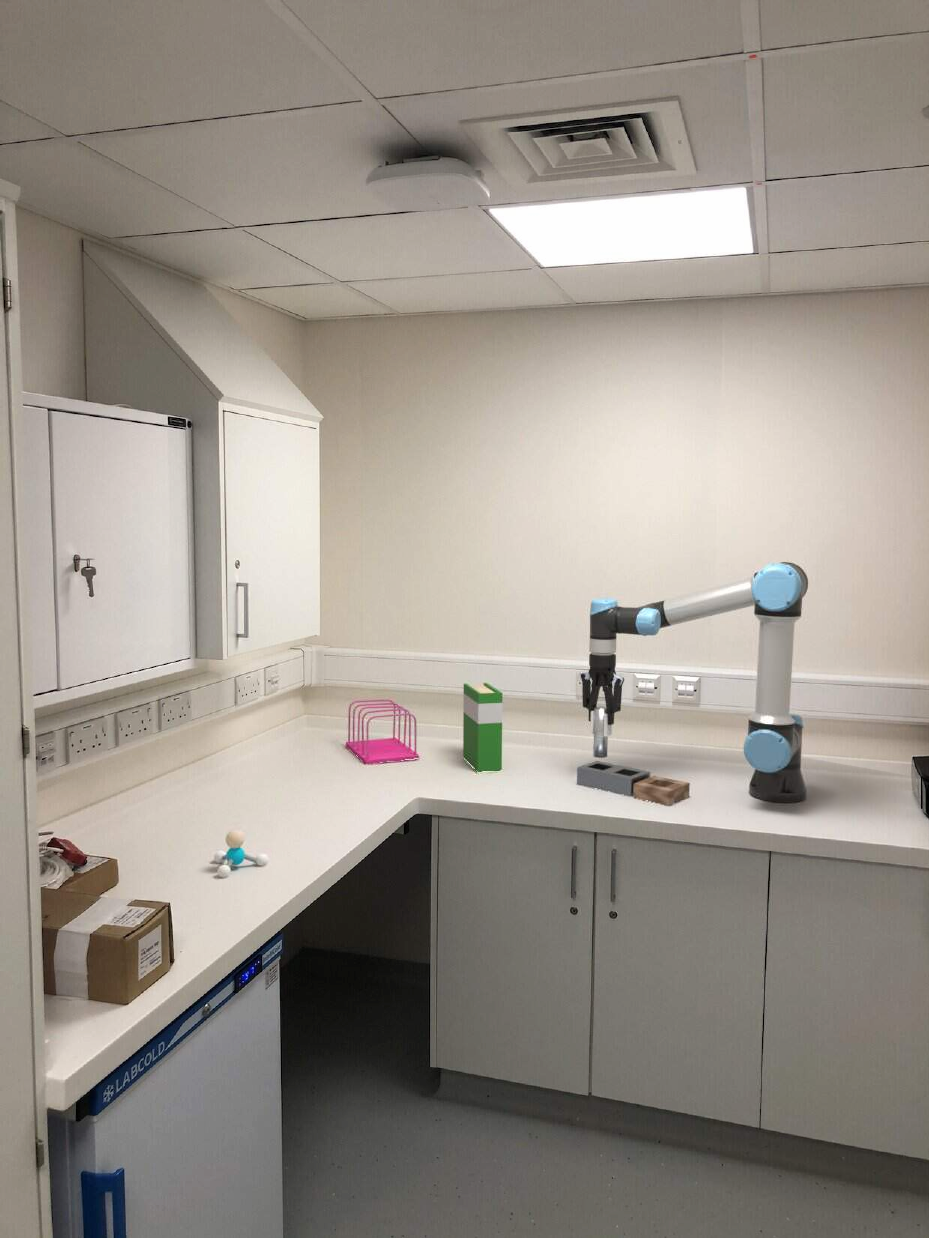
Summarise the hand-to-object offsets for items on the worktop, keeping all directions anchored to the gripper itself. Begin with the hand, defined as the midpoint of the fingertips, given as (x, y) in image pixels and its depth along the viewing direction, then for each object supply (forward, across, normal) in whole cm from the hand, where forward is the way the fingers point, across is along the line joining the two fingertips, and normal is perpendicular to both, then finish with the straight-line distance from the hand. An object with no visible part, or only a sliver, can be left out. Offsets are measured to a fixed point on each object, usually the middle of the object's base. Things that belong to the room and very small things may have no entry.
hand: (600, 734), depth 278 cm
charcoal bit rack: (+15, -4, 0) cm, 15 cm away
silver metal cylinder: (+6, 0, 0) cm, 6 cm away
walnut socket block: (+15, -20, 0) cm, 25 cm away
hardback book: (+15, +38, +7) cm, 42 cm away
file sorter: (+15, +72, +18) cm, 75 cm away
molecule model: (+15, +22, +110) cm, 113 cm away
